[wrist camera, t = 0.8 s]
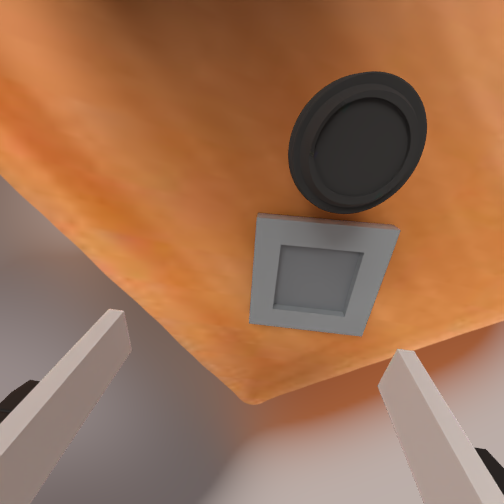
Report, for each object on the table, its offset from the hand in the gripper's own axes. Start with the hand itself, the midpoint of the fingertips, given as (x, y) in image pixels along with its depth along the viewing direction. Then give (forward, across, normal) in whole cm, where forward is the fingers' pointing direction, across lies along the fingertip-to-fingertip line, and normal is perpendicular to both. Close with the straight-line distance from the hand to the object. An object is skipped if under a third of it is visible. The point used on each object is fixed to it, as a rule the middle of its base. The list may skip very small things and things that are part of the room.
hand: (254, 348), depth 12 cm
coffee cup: (+23, +5, +9) cm, 25 cm away
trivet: (+23, +8, -9) cm, 26 cm away
